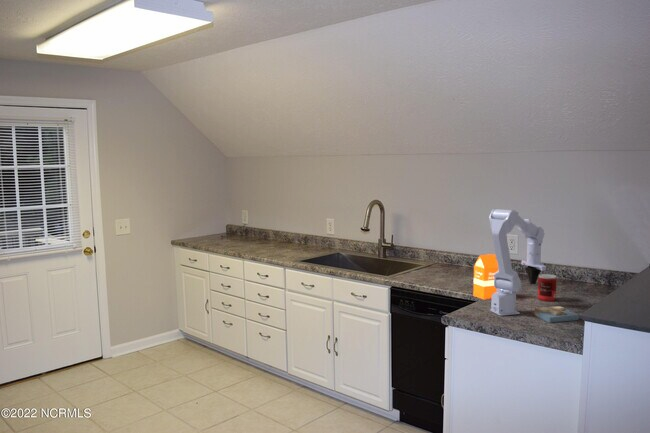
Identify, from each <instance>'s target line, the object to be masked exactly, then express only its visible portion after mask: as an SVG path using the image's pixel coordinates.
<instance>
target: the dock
mask: <svg viewBox="0 0 650 433" xmlns="http://www.w3.org/2000/svg"><path fill="white" fill-rule="evenodd" d="M563 311H564V312H565V315H560V316H555V315H553V314H551V313H548V312H540V313H538V317H537V318H539V319H541V320H543V321H545V322H548V323H558V322H560V323H562V322H569V321H578V320H579V319H580V315H579V314H578V313H575V312H572V311H569V310H567V309H565V310H563Z"/></svg>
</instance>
